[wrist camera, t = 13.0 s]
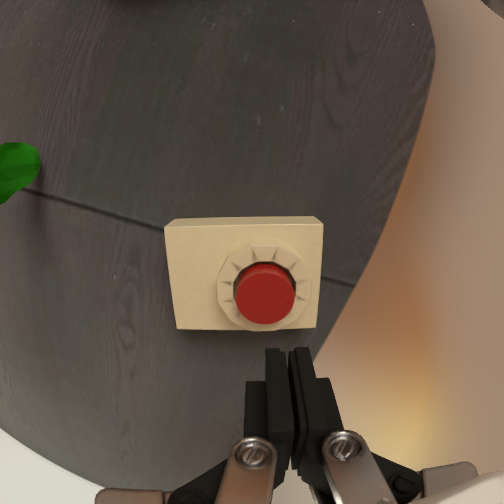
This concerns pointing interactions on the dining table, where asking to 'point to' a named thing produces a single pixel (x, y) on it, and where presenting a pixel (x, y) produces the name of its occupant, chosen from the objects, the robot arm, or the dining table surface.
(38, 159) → the flower
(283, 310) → the red button
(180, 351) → the dining table surface
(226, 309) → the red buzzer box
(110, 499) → the robot arm
